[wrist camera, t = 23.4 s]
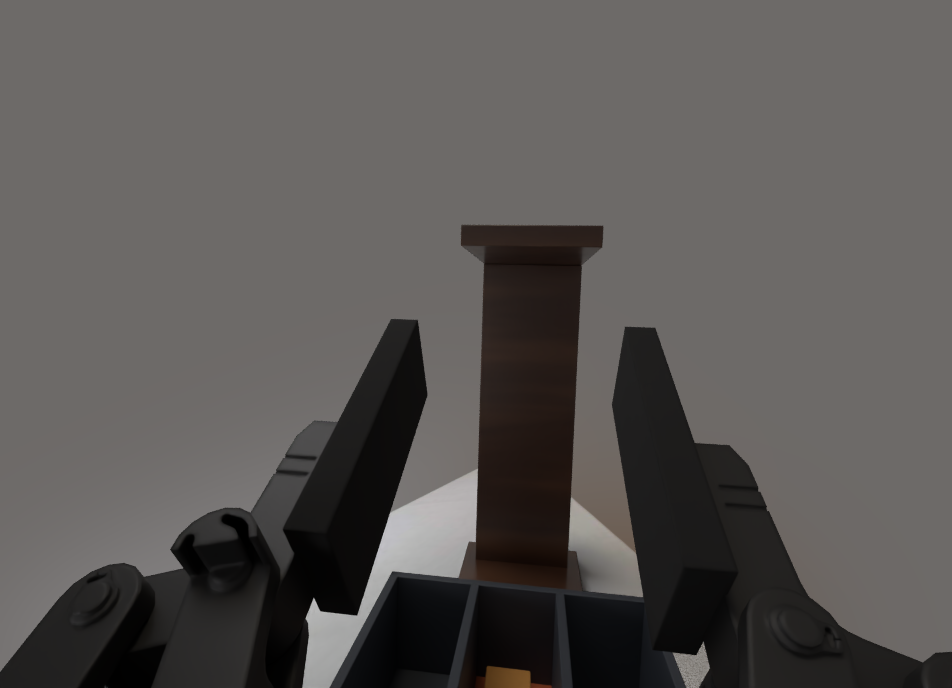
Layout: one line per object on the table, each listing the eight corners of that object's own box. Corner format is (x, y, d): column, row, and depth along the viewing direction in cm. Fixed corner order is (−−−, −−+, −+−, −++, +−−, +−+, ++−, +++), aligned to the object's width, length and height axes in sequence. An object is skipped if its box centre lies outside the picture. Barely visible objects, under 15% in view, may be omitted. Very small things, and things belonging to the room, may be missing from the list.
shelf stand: (596, 696, 28) (622, 225, 26) (434, 674, 30) (444, 224, 27) (575, 561, 43) (590, 254, 41) (468, 551, 44) (477, 252, 42)
